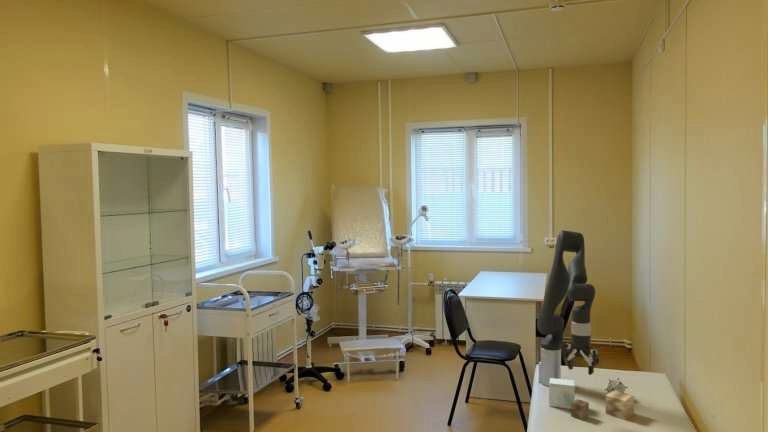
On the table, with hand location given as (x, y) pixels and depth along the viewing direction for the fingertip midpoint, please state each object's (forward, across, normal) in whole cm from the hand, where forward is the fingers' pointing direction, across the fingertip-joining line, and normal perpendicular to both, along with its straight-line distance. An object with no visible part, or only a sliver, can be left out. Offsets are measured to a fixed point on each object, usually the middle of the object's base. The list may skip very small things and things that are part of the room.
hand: (580, 371), depth 225 cm
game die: (+19, +1, +30) cm, 35 cm away
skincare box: (+19, -11, +5) cm, 23 cm away
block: (+19, 0, 0) cm, 19 cm away
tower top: (+15, +10, +14) cm, 23 cm away
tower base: (+19, +10, +14) cm, 26 cm away
